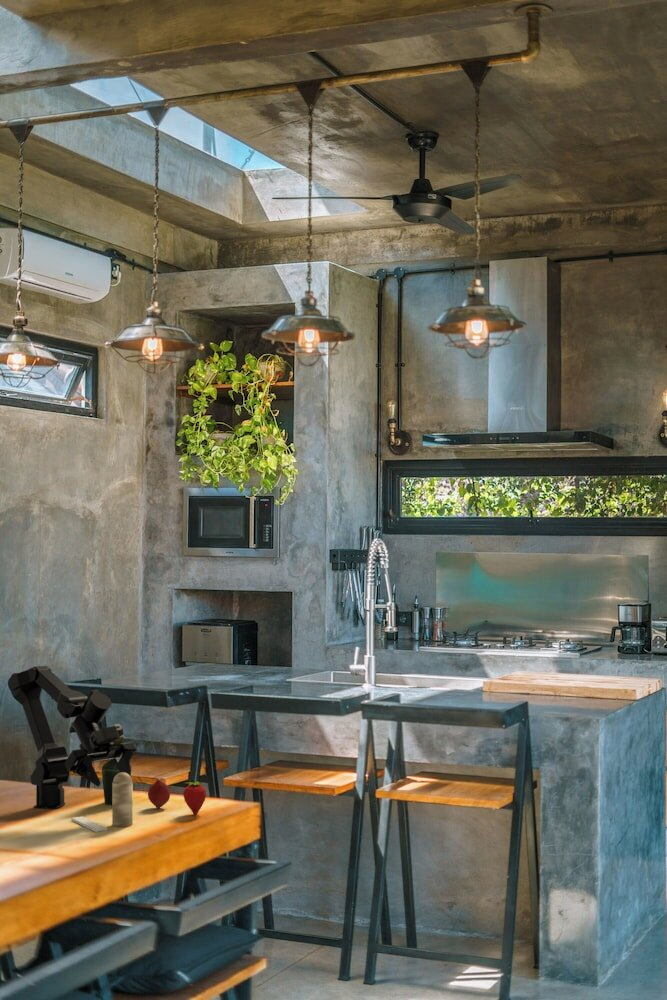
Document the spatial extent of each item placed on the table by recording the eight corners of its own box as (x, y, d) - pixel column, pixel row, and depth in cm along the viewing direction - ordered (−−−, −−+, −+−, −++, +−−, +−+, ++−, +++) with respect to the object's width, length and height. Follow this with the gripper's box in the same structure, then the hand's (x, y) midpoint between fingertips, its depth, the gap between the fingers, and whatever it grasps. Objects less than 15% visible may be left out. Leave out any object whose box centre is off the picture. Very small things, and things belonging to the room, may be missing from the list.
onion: (172, 806, 326) (172, 776, 327) (167, 810, 321) (167, 780, 321) (151, 805, 327) (151, 775, 327) (145, 810, 321) (145, 779, 322)
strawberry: (180, 817, 312) (180, 778, 312) (186, 811, 319) (186, 773, 320) (203, 817, 312) (203, 778, 312) (208, 811, 319) (208, 773, 320)
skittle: (109, 826, 302) (109, 773, 302) (116, 822, 307) (116, 770, 307) (128, 827, 301) (128, 774, 301) (135, 823, 306) (135, 771, 306)
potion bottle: (105, 799, 336) (105, 734, 337) (134, 799, 335) (134, 734, 336) (98, 805, 328) (98, 738, 329) (128, 805, 327) (128, 738, 328)
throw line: (71, 820, 309) (71, 817, 309) (82, 818, 311) (82, 816, 311) (95, 831, 296) (95, 829, 296) (107, 830, 298) (107, 827, 298)
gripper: (71, 718, 305) (96, 767, 296) (132, 711, 318) (158, 757, 309) (54, 746, 310) (78, 795, 301) (114, 738, 323) (139, 785, 315)
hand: (114, 782), depth 306 cm, fingers open, 9 cm apart
